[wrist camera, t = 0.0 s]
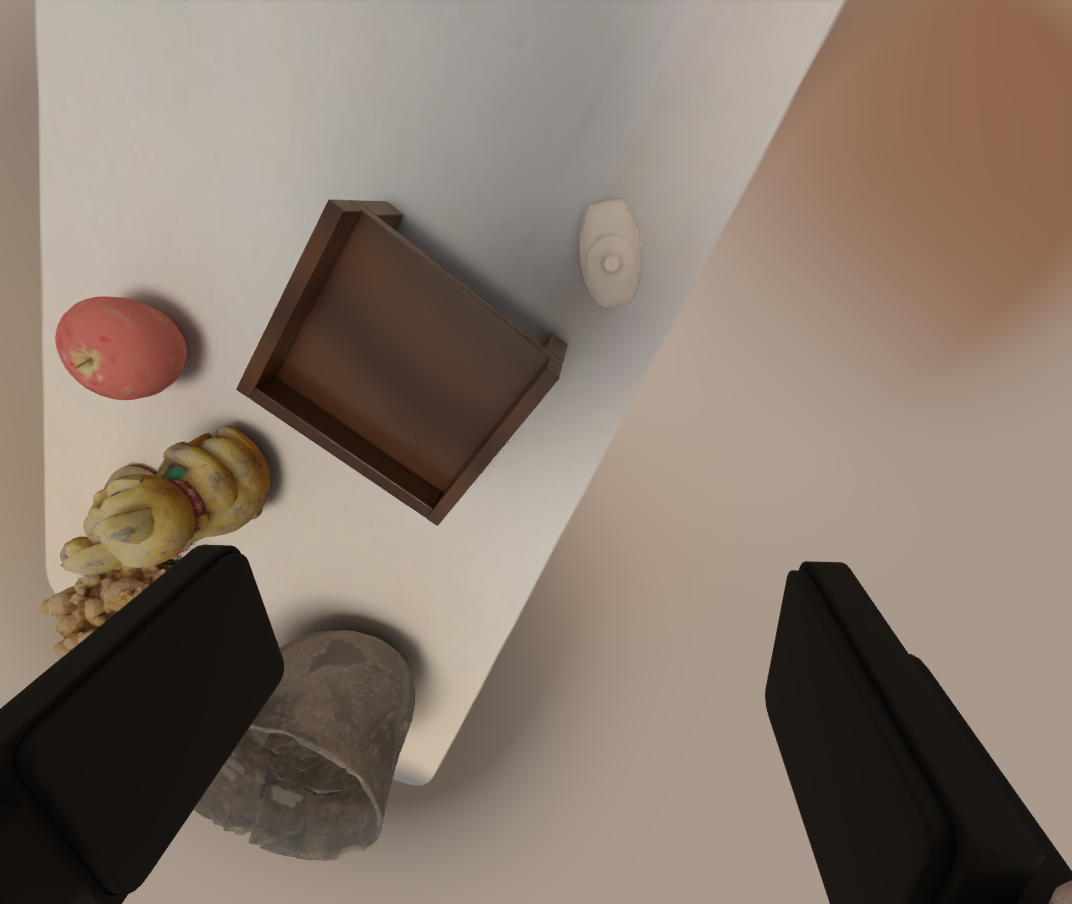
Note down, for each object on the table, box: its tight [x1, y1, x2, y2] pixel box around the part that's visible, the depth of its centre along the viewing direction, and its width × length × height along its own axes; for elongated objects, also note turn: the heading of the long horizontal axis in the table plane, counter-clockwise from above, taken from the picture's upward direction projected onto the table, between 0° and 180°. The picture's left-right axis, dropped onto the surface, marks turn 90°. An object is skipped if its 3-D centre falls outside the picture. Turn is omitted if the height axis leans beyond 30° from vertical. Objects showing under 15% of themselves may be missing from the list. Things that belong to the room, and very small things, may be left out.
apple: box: [55, 297, 187, 400], centre depth 38 cm, size 7×7×8 cm
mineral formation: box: [40, 564, 172, 657], centre depth 51 cm, size 8×13×15 cm
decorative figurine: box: [60, 426, 271, 575], centre depth 40 cm, size 10×8×15 cm
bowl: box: [194, 630, 415, 861], centre depth 49 cm, size 18×18×15 cm
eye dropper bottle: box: [579, 199, 642, 307], centre depth 30 cm, size 4×6×12 cm
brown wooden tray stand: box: [236, 200, 567, 526], centre depth 36 cm, size 14×16×8 cm
